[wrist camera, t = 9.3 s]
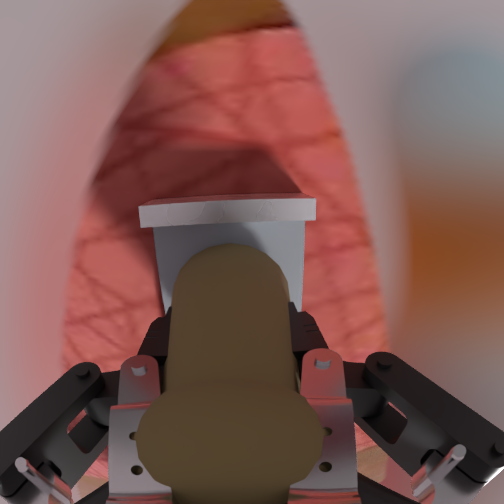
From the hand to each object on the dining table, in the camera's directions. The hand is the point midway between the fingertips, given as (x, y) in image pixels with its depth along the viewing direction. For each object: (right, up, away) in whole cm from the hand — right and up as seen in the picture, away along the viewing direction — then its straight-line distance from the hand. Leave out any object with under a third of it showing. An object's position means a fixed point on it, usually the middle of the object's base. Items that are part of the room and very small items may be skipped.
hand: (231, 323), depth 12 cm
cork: (0, +1, +2) cm, 2 cm away
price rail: (0, +6, +3) cm, 6 cm away
